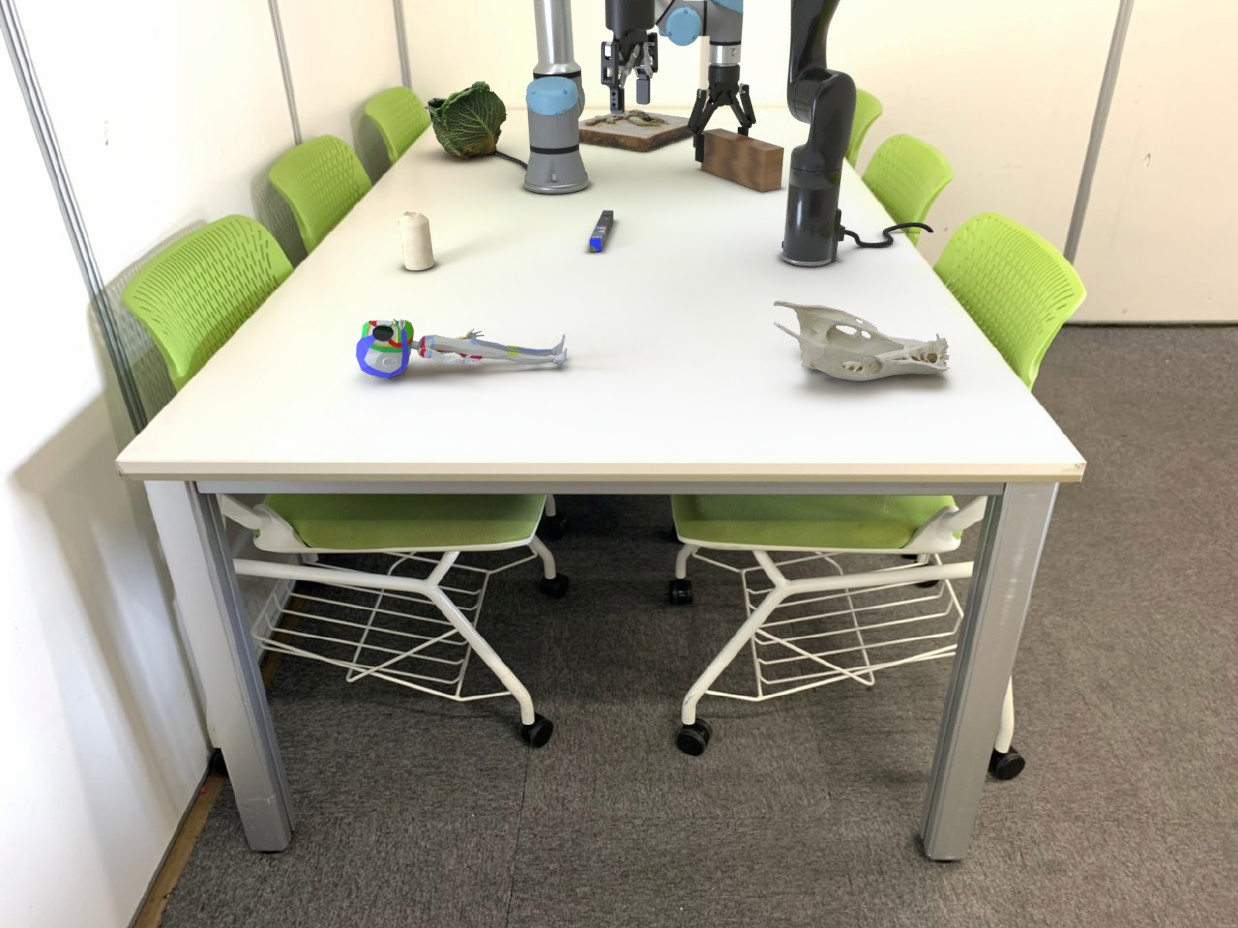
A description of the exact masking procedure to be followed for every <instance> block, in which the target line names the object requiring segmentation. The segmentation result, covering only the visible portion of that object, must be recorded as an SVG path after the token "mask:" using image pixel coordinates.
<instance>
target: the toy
mask: <svg viewBox="0 0 1238 928" xmlns="http://www.w3.org/2000/svg"><path fill="white" fill-rule="evenodd" d="M474 331H475V328H472V329H471V330H469V331H468V332H467V333H466V334H465V335H463V336H458V337H449V336H448V337H447V336H442V335H439V334H428V335H423V336H421V338H420V339H419V341H417V340H414V336H415V329H414V326H413V324H412V322H410V321H408V320H407V319H399V320H397V319H395V318H392V320H387V319H379V320H368V321H367V322H365V323H364V324H362V326H361V329H360V331H359V333H358V334H357V338H356V340H355V342H354V354H353V355H354V357H355V359H356V362H357V364H358V366H359V369H360V370H361V372H364V373H366V374H367V375H370V376H373V377H377V378H382V379H383V378H384V379H392V378H394V377H396V376H398V375H400V374H401V375H402V374H403V372H404V371H405V370H406V368H407V367H408V366H409V364H410V357H411V355H412V350H415V351H417V353H418V356H419V357H421V358H422V359H430V360H434V361H438V362H442V363H444V364H449V365H458V364H459V365H461V364H465V365H471V366H477V367H479V368H480V367H481V366H482V365H483V363H482V362H478V361H480V360H482V359H487V360H488V359H489V360H503V361H509V362H514V363H517V364H520V365H528V366H529V365H542V364H550V363H553V364H555V365H557V366H559V367H562V366H563V364H564V362H565V361H566V360H567V357H568V355H567V353H568V348H566V347H565V348H564V345H565V340H566V334H565V333H563V334H562V338H561V340H560V341H559V343H558V344H556V345H555V346H554V347H552V348H533V347H532V348H531V347H523V346H518V345H517V346H516V345H504V344H501V343H498V342H494V341H488V340H482V339H478V338H479V337H480V338H481V337H485V334H480V333H482V332H483V331H482V330H479V331H476V332H474ZM563 349H564V350H563ZM453 353H455V354H457V355H459V357H458V356H455V355H448V354H453ZM445 354H447V355H445Z"/></svg>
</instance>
